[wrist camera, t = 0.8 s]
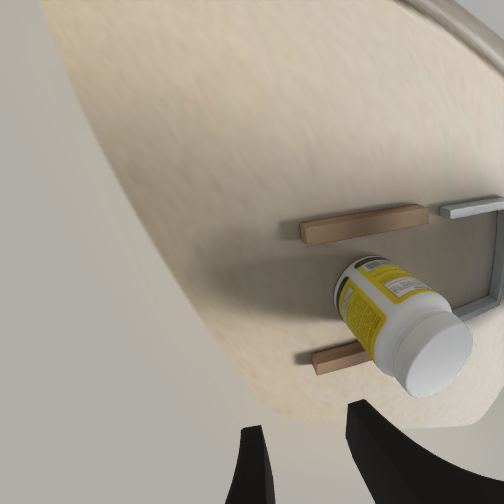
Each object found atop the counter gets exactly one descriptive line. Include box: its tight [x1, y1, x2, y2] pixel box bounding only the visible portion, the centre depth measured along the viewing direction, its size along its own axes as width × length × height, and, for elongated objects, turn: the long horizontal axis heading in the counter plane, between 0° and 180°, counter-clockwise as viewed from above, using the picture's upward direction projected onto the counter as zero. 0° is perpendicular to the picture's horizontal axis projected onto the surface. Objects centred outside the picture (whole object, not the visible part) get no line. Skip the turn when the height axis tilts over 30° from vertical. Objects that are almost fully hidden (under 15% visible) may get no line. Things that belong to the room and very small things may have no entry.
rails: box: [299, 204, 428, 375], centre depth 18 cm, size 8×10×1 cm
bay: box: [440, 197, 504, 322], centre depth 19 cm, size 8×9×1 cm
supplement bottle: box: [334, 256, 473, 398], centre depth 15 cm, size 5×5×8 cm
